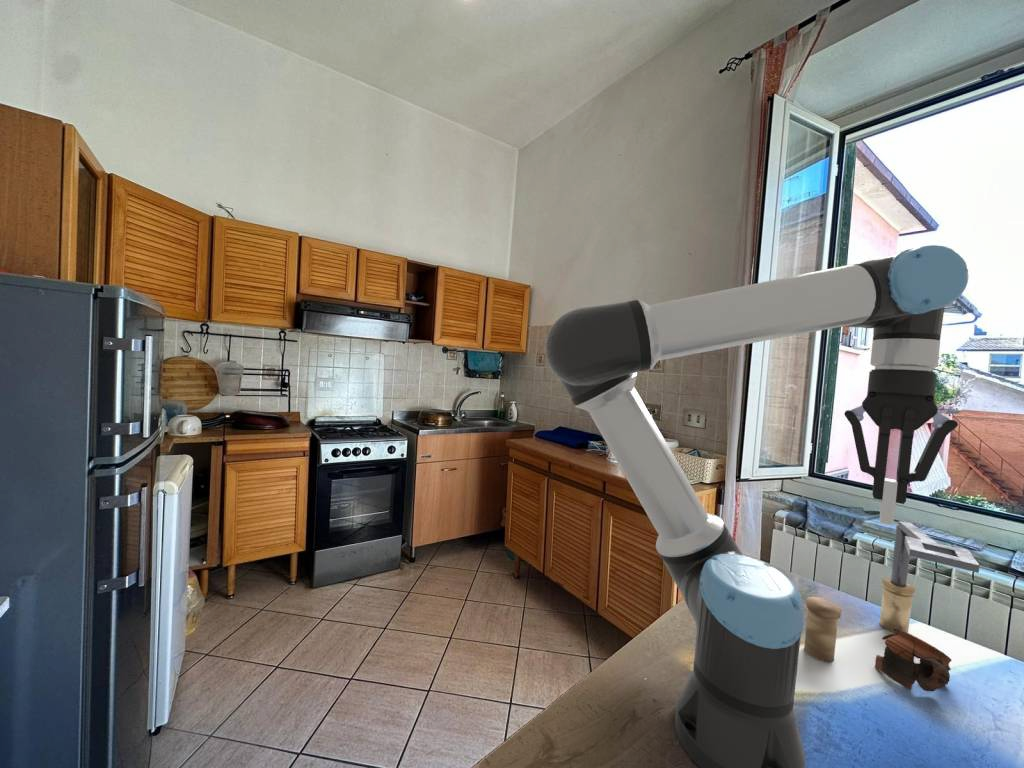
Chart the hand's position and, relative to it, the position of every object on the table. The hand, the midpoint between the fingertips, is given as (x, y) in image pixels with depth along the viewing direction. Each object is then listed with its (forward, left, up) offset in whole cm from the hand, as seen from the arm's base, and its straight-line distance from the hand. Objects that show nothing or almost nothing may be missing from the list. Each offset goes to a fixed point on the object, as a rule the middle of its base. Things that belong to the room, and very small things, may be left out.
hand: (886, 521), depth 65 cm
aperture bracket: (+7, +22, -28) cm, 37 cm away
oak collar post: (-7, +8, -28) cm, 30 cm away
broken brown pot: (+6, +12, -29) cm, 32 cm away
